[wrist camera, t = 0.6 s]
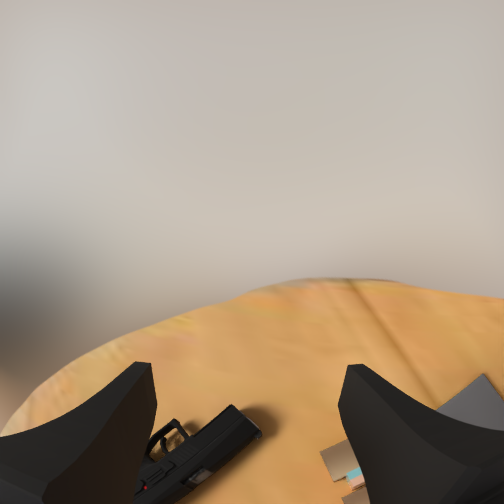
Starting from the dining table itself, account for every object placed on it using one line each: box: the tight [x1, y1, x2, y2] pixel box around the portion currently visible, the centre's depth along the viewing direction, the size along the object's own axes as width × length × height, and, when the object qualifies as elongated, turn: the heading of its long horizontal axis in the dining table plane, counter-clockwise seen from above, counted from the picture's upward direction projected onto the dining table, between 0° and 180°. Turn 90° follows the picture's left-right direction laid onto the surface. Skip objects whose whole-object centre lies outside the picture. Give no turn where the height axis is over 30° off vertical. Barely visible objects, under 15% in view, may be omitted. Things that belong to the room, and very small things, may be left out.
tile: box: [346, 467, 365, 490], centre depth 17 cm, size 1×5×5 cm, turn 107°
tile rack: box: [320, 439, 370, 504], centre depth 18 cm, size 8×7×1 cm
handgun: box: [133, 404, 262, 504], centre depth 24 cm, size 3×17×12 cm
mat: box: [435, 374, 504, 431], centre depth 16 cm, size 12×10×1 cm
